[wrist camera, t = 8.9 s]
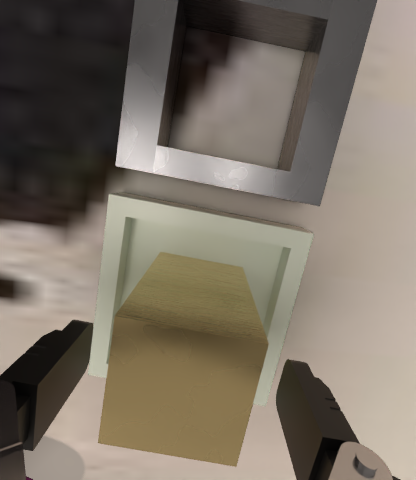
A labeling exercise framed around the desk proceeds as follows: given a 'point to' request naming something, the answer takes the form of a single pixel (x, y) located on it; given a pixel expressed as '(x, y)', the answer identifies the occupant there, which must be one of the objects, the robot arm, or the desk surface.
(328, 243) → the desk surface
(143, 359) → the golden yellow block
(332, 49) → the grey metal frame
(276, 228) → the parts tray
